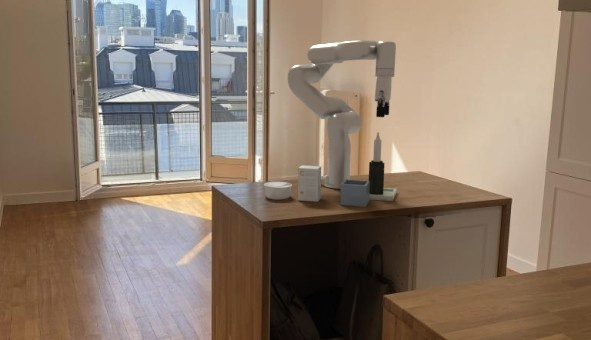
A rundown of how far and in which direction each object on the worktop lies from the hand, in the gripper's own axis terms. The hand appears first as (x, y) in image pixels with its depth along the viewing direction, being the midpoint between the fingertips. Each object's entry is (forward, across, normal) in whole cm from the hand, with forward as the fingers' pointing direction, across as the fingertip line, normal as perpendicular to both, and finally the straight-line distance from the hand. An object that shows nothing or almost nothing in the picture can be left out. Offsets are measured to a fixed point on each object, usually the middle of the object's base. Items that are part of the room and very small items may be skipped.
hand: (382, 116), depth 242 cm
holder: (+32, +21, -5) cm, 38 cm away
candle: (+31, +5, 0) cm, 32 cm away
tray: (+32, +5, 0) cm, 32 cm away
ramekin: (+33, +23, -36) cm, 54 cm away
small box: (+32, +22, -23) cm, 45 cm away
